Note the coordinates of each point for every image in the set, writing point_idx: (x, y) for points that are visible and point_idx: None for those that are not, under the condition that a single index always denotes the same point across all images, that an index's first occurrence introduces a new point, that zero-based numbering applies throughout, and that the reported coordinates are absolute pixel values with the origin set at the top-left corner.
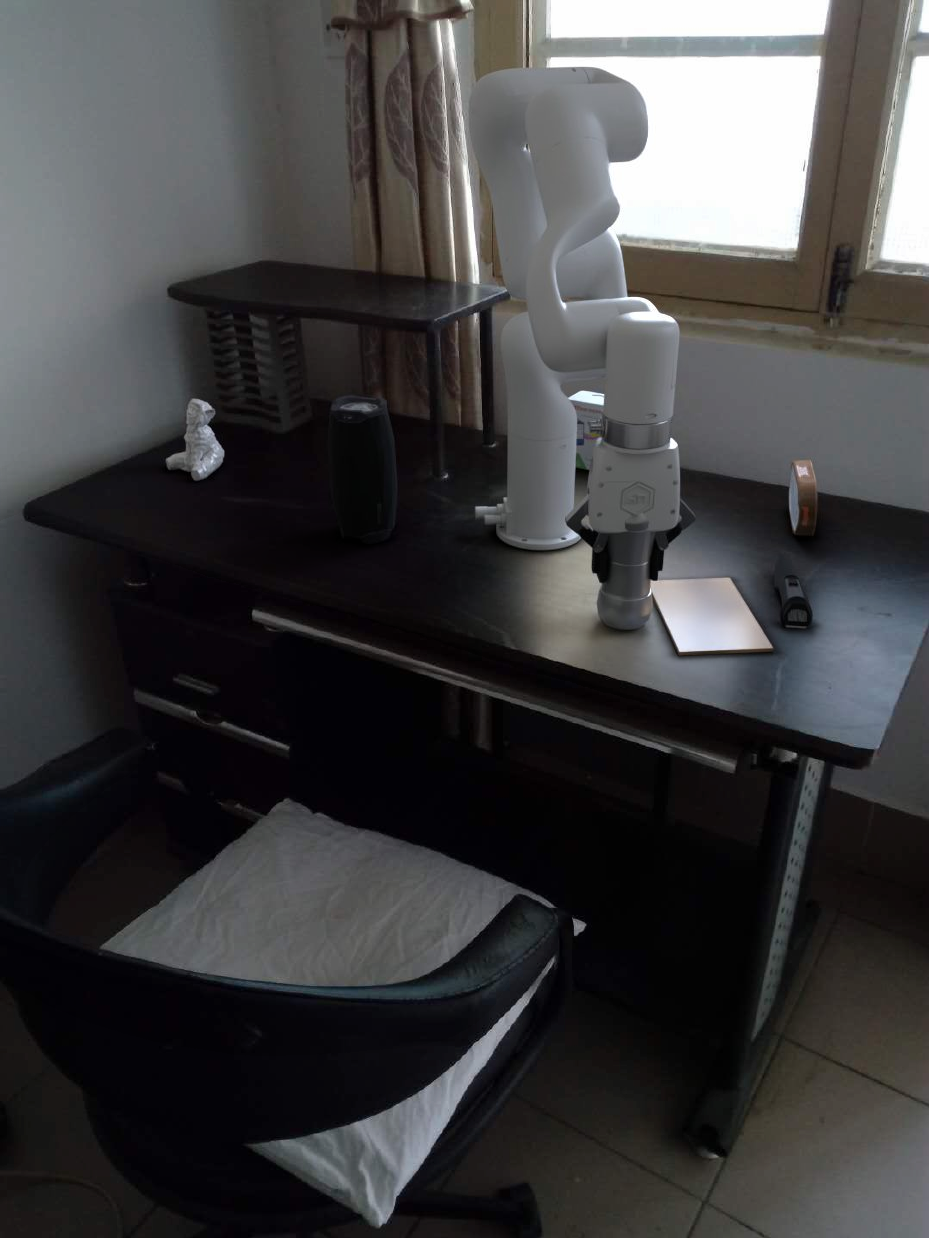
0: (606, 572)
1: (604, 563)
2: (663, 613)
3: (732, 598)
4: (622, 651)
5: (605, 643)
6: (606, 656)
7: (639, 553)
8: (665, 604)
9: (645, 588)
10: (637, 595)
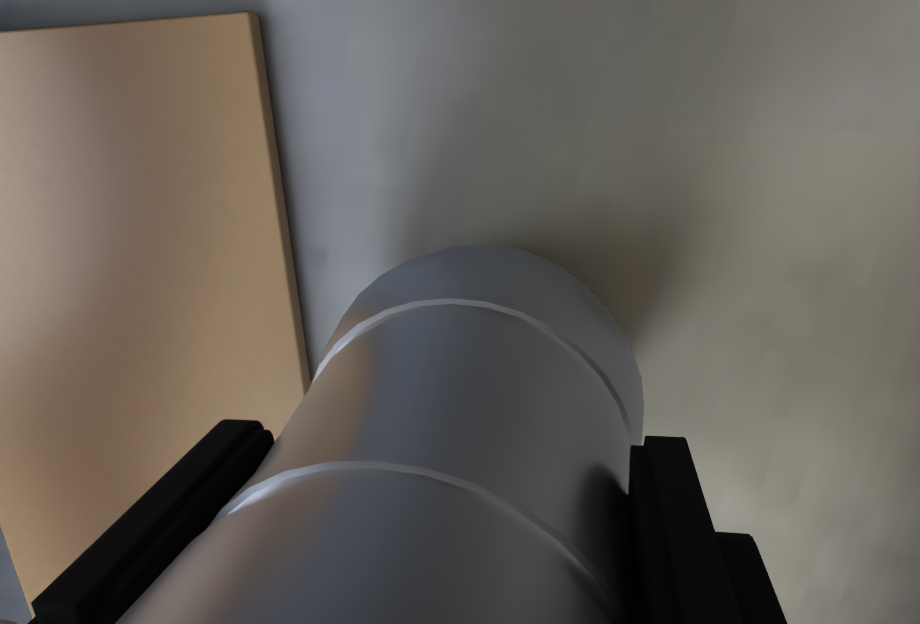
0: (639, 495)
1: (687, 558)
2: (296, 393)
3: (17, 476)
4: (545, 69)
5: (622, 160)
6: (647, 12)
7: (243, 562)
8: None
9: (329, 369)
10: (398, 321)
